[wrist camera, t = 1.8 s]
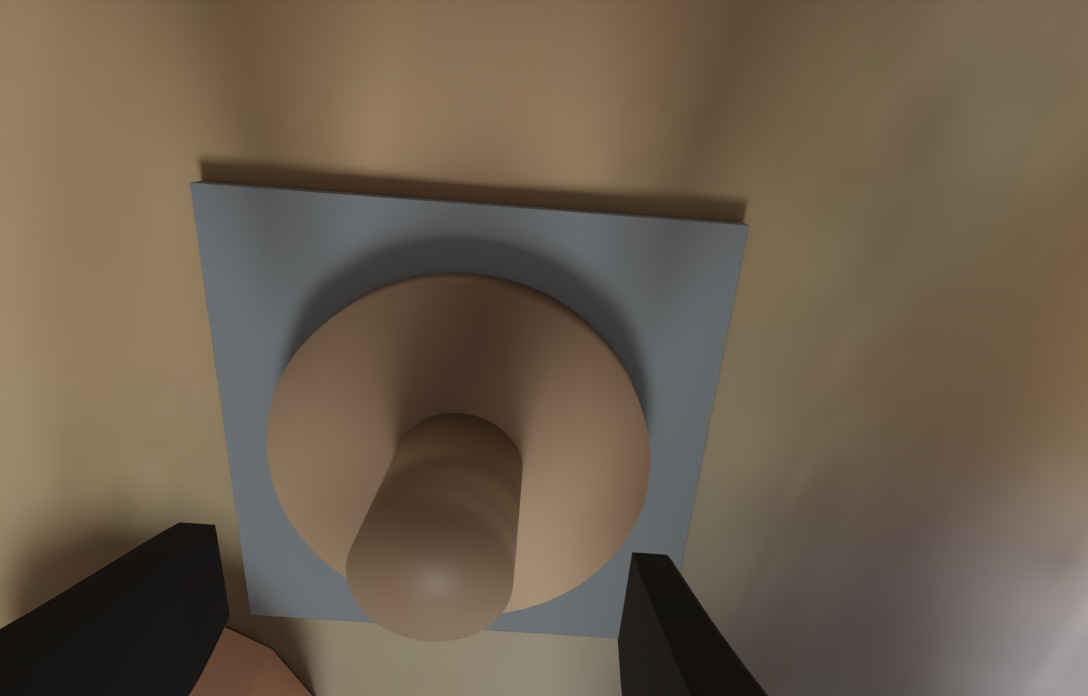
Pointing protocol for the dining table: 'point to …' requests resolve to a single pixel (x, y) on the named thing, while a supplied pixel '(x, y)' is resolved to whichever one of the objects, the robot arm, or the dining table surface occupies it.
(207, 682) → the bowl
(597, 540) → the lid
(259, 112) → the dining table surface
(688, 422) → the mat
